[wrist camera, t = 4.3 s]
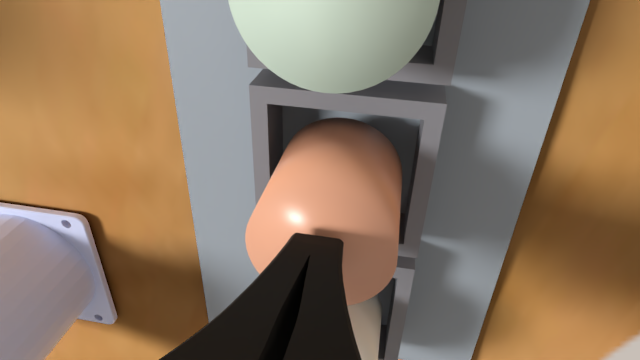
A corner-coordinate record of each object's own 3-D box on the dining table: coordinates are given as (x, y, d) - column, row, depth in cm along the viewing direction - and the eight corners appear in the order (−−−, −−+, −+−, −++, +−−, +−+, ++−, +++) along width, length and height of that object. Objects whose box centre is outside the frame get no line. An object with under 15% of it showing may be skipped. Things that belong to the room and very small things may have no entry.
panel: (213, 317, 26) (194, 356, 24) (131, -256, 13) (73, -285, 11) (466, 360, 24) (470, 407, 22) (667, -261, 11) (728, -298, 9)
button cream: (285, 329, 22) (259, 417, 18) (284, 261, 20) (253, 347, 16) (377, 345, 21) (368, 439, 18) (387, 277, 19) (379, 369, 15)
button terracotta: (283, 213, 18) (249, 294, 14) (281, 111, 16) (240, 177, 12) (394, 228, 18) (388, 317, 14) (410, 124, 15) (407, 199, 11)
